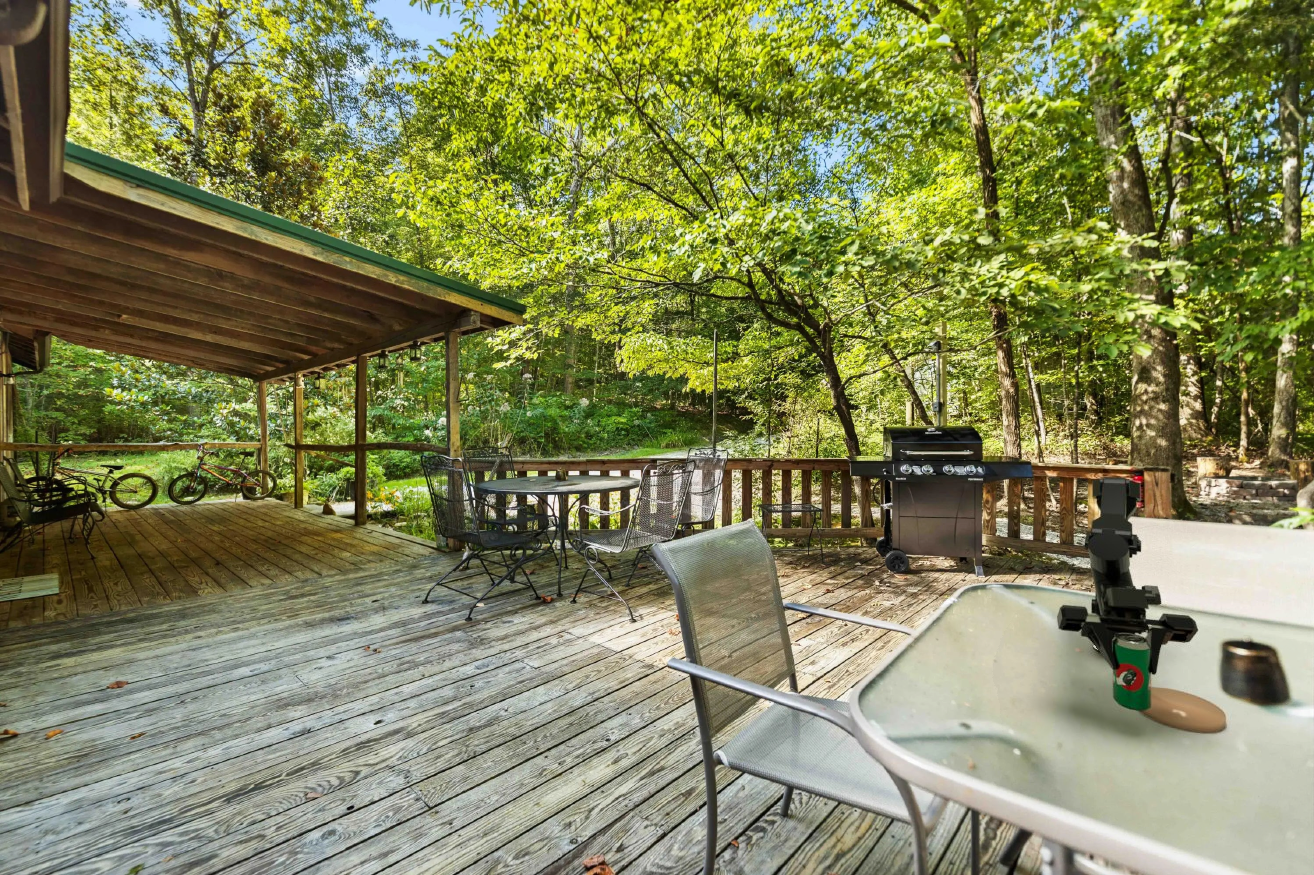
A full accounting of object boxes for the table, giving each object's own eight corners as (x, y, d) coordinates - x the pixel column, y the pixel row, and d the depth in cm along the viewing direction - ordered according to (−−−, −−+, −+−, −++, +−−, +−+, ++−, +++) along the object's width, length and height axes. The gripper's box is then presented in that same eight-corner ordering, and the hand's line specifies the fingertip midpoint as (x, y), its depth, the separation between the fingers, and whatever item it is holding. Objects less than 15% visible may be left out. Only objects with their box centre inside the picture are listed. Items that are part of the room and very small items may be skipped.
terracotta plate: (1118, 695, 106) (1118, 687, 106) (1186, 695, 104) (1186, 687, 104) (1168, 732, 94) (1168, 724, 94) (1246, 733, 92) (1246, 724, 92)
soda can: (1158, 713, 92) (1158, 644, 91) (1124, 712, 93) (1123, 644, 92) (1139, 697, 97) (1138, 631, 96) (1106, 695, 98) (1105, 631, 97)
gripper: (1058, 562, 101) (1073, 646, 92) (1193, 570, 93) (1224, 663, 84) (1051, 589, 109) (1064, 669, 100) (1175, 598, 100) (1201, 686, 91)
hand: (1134, 671), depth 94 cm, fingers closed on soda can, 5 cm apart
